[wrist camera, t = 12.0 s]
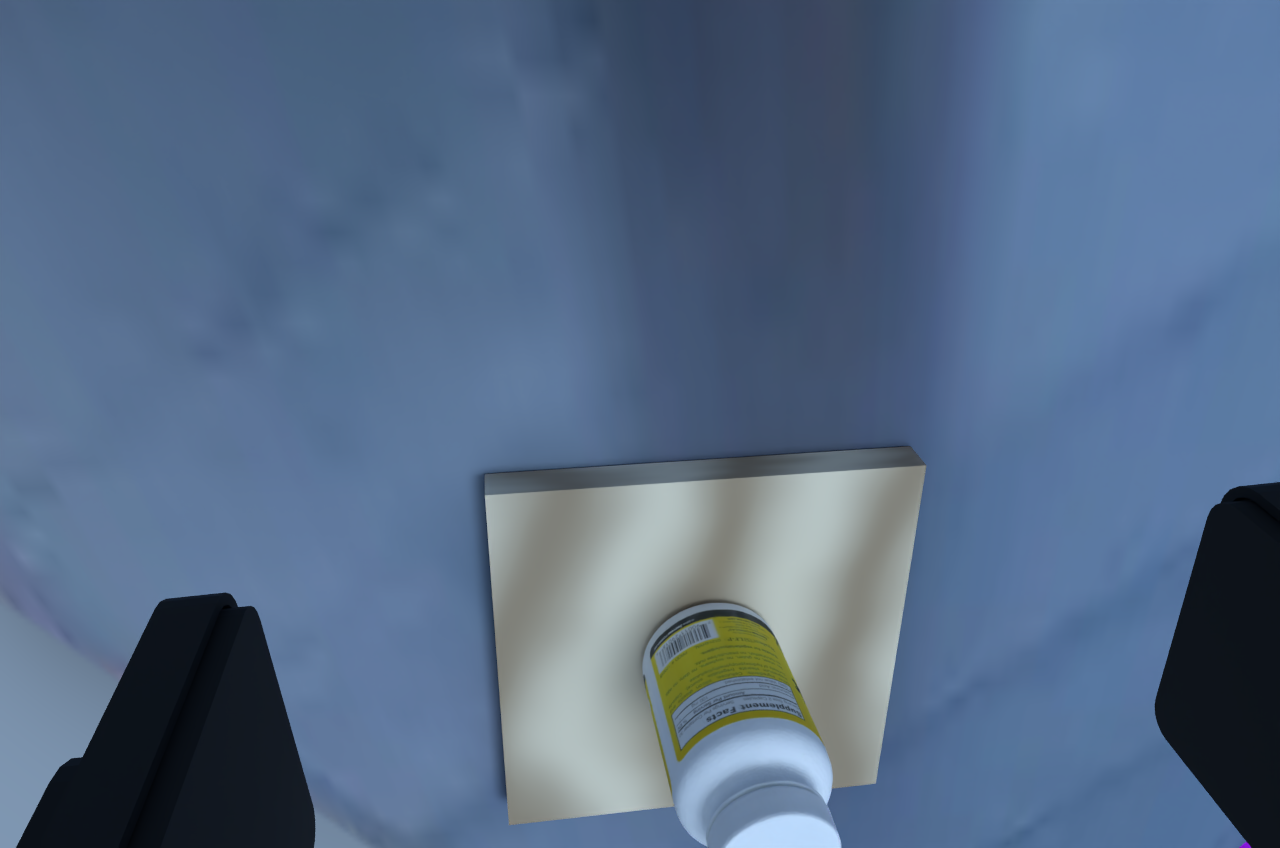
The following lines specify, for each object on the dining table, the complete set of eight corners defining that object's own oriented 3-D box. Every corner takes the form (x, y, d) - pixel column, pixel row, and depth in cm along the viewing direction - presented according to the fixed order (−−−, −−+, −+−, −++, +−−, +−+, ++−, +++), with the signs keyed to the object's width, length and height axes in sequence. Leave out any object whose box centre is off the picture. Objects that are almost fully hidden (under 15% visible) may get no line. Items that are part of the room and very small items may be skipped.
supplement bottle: (751, 712, 40) (827, 928, 31) (624, 698, 39) (667, 920, 30) (794, 606, 38) (889, 806, 29) (662, 587, 37) (720, 791, 28)
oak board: (910, 446, 37) (926, 465, 36) (863, 758, 44) (875, 783, 43) (484, 474, 35) (484, 495, 34) (508, 796, 42) (509, 825, 41)
